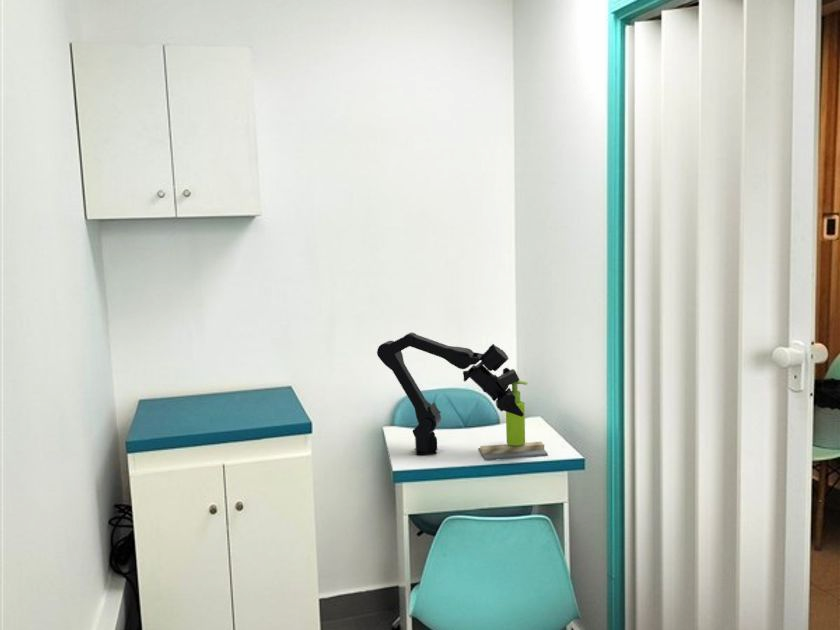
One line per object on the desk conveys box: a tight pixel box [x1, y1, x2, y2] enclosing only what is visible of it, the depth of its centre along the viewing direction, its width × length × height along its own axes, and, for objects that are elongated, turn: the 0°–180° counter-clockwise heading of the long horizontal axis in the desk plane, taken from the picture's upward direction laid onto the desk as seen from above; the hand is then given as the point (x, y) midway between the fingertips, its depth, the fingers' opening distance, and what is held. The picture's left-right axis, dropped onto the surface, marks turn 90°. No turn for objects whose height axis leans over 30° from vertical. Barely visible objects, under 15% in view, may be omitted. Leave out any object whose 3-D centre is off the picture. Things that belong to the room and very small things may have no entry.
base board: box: [477, 447, 549, 461], centre depth 241 cm, size 20×11×1 cm, turn 96°
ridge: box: [479, 441, 545, 455], centre depth 241 cm, size 20×4×2 cm, turn 96°
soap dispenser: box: [505, 380, 528, 446], centre depth 240 cm, size 6×7×20 cm
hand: (521, 413), depth 240 cm, fingers closed on soap dispenser, 6 cm apart
